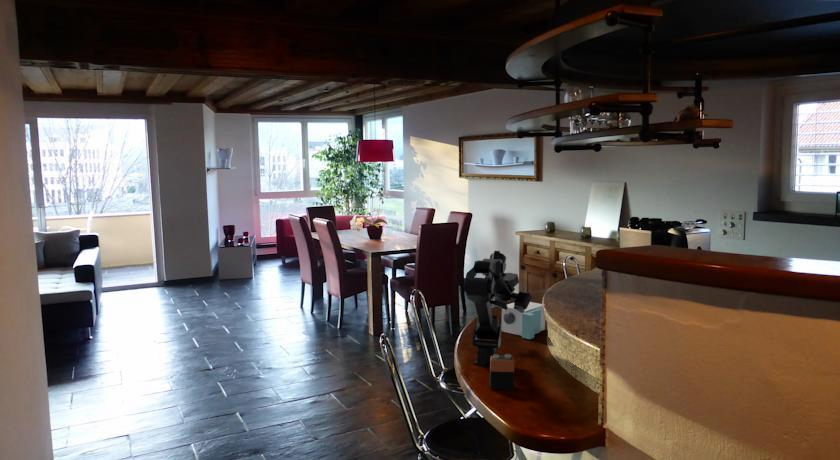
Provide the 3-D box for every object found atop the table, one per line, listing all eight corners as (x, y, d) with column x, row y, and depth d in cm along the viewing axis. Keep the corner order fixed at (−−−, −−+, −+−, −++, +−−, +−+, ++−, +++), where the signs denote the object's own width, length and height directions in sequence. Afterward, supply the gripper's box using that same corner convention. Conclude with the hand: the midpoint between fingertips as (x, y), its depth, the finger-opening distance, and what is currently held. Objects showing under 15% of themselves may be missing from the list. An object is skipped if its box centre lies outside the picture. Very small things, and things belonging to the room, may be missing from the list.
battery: (513, 390, 178) (514, 357, 176) (490, 390, 178) (491, 357, 177) (512, 385, 182) (513, 352, 181) (489, 384, 182) (490, 352, 181)
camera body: (523, 337, 231) (524, 311, 230) (499, 331, 238) (500, 306, 237) (545, 329, 242) (545, 304, 241) (521, 324, 249) (522, 300, 248)
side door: (529, 339, 227) (530, 315, 226) (521, 337, 229) (522, 313, 228) (545, 333, 235) (546, 310, 234) (537, 331, 237) (538, 308, 236)
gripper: (530, 269, 209) (546, 296, 218) (486, 263, 222) (503, 289, 231) (516, 296, 204) (533, 322, 214) (472, 288, 217) (490, 313, 226)
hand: (514, 310), depth 221 cm, fingers open, 7 cm apart
